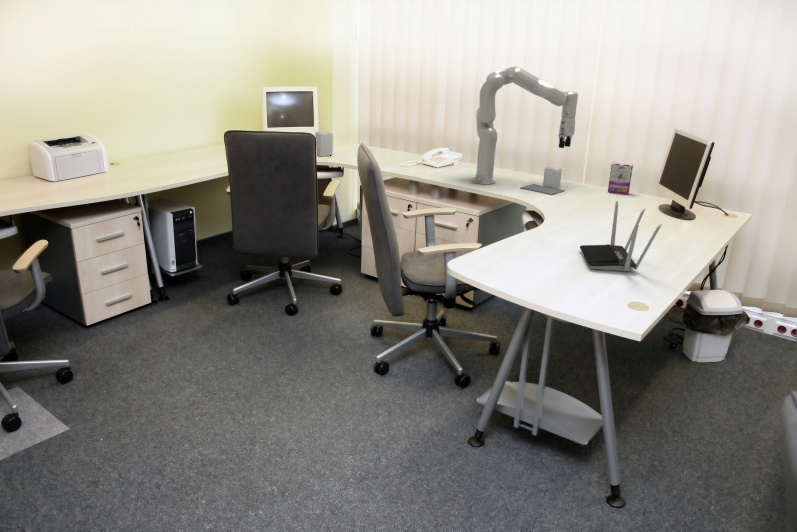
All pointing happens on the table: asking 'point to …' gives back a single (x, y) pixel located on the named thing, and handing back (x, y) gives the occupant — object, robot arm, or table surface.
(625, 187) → the candy bar box
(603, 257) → the wireless router
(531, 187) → the mat
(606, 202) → the table surface
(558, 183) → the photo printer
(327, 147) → the supplement box
